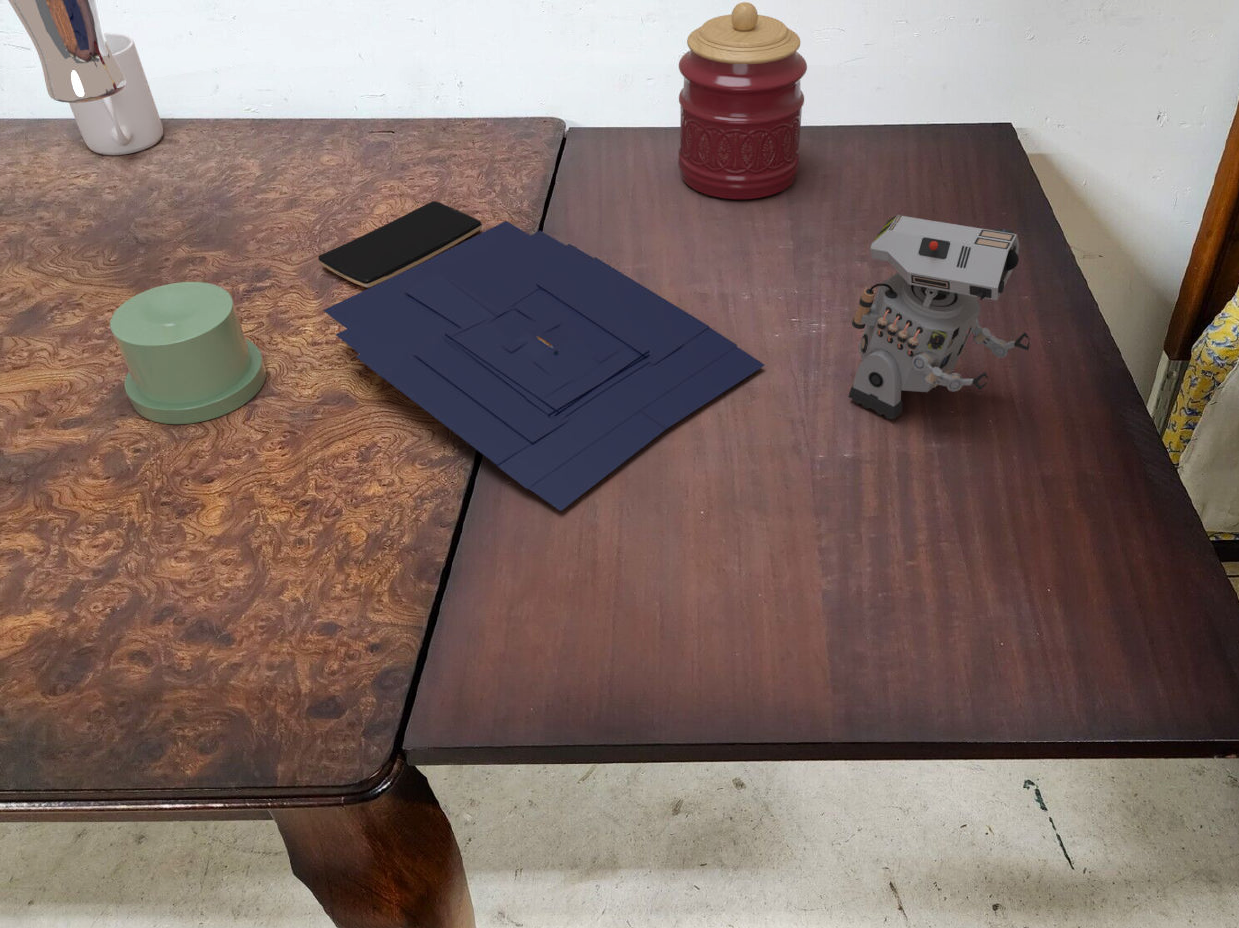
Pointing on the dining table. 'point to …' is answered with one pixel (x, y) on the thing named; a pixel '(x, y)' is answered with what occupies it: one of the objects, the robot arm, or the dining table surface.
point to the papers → (539, 356)
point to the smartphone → (400, 244)
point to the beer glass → (71, 48)
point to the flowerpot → (186, 353)
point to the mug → (121, 108)
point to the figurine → (928, 308)
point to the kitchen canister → (741, 106)
